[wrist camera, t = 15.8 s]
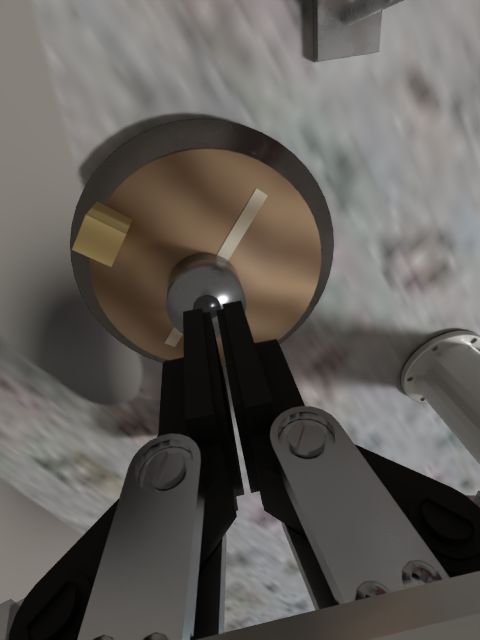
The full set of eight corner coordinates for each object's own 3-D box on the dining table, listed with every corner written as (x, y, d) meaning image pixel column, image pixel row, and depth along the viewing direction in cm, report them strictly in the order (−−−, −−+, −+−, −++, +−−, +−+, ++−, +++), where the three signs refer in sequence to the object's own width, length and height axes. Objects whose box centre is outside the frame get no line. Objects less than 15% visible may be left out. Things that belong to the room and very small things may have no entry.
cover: (192, 238, 31) (194, 255, 27) (253, 276, 34) (262, 296, 30) (154, 297, 33) (151, 319, 30) (213, 327, 36) (217, 351, 33)
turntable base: (331, 96, 29) (336, 95, 28) (328, 339, 43) (331, 344, 42) (21, 146, 28) (15, 147, 27) (123, 380, 42) (122, 386, 41)
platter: (146, 82, 25) (139, 77, 21) (359, 227, 34) (387, 247, 30) (55, 309, 34) (35, 342, 29) (243, 379, 43) (251, 413, 38)
